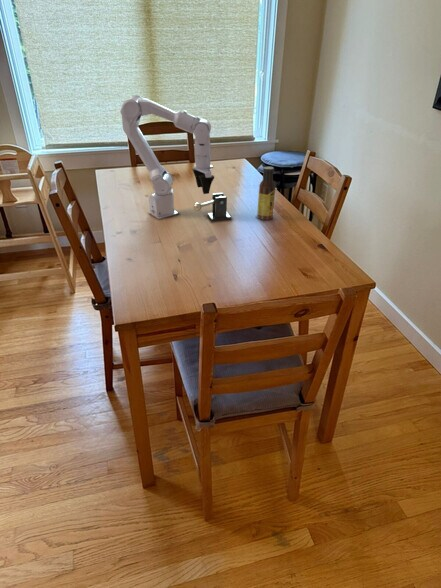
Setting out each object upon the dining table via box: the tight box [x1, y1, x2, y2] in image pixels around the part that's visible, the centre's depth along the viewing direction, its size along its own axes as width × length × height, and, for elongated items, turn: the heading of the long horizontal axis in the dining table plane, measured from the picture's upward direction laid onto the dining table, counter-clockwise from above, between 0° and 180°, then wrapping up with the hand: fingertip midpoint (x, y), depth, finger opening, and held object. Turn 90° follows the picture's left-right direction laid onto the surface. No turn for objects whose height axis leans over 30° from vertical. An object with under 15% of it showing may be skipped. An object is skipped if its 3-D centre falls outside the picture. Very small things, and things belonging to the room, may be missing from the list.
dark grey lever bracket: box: [207, 192, 232, 223], centre depth 160 cm, size 8×6×9 cm
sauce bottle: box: [257, 166, 276, 221], centre depth 157 cm, size 7×6×20 cm
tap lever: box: [193, 195, 223, 212], centre depth 157 cm, size 12×3×3 cm, turn 107°
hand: (203, 190), depth 159 cm, fingers open, 7 cm apart
